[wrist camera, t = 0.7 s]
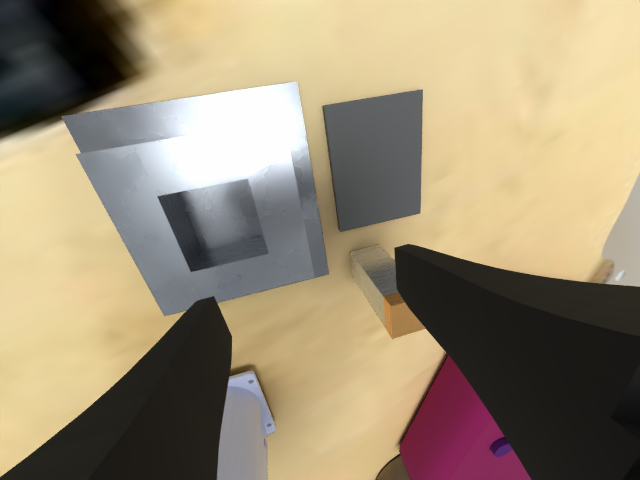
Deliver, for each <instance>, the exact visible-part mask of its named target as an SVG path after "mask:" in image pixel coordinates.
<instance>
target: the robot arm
mask: <svg viewBox="0 0 640 480" xmlns="http://www.w3.org/2000/svg"><path fill="white" fill-rule="evenodd" d="M395 268H396V288H397V290H398V292H399V294H400V295H401V297H402V298H403V300H404V302H405V303H406V305H407V306H408V308H409V309H410V310H411V311H412V313H413V314H414V315H415V316H416V317H417V319H418V320H419V321H420V322H421V323H422V325H423V326H424V327H425V328H426V329H427V330H428V332H429V333H430V334H431V335H432V336H433V337H434V339H435V340H436V341H437V342H438V343H439V344H440V346H441V347H442V348H443V349H444V350H445V351H446V353H447V354H448V355H449V356H450V358H451V359H452V360H453V361H454V363H455V364H456V365H457V367H458V368H459V369H460V371H461V372H462V374H463V375H464V376H465V378H466V379H467V381H468V382H469V384H470V385H471V386H472V388H473V389H474V391H475V392H476V394H477V395H478V397H479V398H480V400H481V401H482V403H483V404H484V406H485V407H486V409H487V410H488V412H489V413H490V415H491V416H492V418H493V419H494V421H495V422H496V424H497V425H498V427H499V428H500V430H501V432H502V433H503V435H504V436H505V438H506V439H507V441H508V443H509V444H510V446H511V447H512V449H513V450H514V452H515V454H516V455H517V457H518V458H519V460H520V462H521V463H522V465H523V467H524V468H525V470H526V472H527V473H528V475H529V477H530V478H531V480H640V287H634V286H623V285H609V284H598V283H588V282H579V281H571V280H563V279H556V278H548V277H542V276H535V275H530V274H524V273H519V272H514V271H508V270H504V269H499V268H495V267H491V266H487V265H482V264H478V263H474V262H471V261H467V260H463V259H460V258H456V257H453V256H450V255H446V254H443V253H440V252H436V251H433V250H430V249H426V248H423V247H419V246H415V245H410V244H407V245H403V246H399V247H396V248H395ZM231 357H232V336H231V333H230V331H229V329H228V327H227V324H226V322H225V320H224V318H223V315H222V313H221V311H220V308H219V306H218V304H217V302H216V299H215V297H214V296H212V297H208V298H204V299H201V300H197V301H196V302H195V303H194V304H193V305H192V306H191V307H190V308H189V309H188V310H187V311H186V312H185V313H184V314H183V315H182V316H181V317H180V319H179V320H178V321H177V322H176V323H175V324H174V325H173V326H172V327H171V328H170V329H169V330H168V332H167V333H166V334H165V335H164V336H163V337H162V338H161V339H160V340H159V341H158V342H157V343H156V344H155V345H154V346H153V347H152V348H151V349H150V350H149V351H148V352H147V353H146V354H145V355H144V356H143V357H142V358H141V359H140V360H139V361H138V362H137V363H136V364H135V365H134V366H133V367H132V368H131V369H130V370H129V371H128V372H127V373H126V374H125V375H124V376H123V377H122V378H121V379H120V380H119V381H118V382H117V383H116V384H115V385H114V386H112V387H111V388H110V389H109V390H108V391H107V392H106V393H105V394H103V395H102V396H101V397H100V398H99V399H98V400H97V401H95V402H94V403H93V404H92V405H91V406H90V407H89V408H87V409H86V410H85V411H84V412H83V413H82V414H80V415H79V416H78V417H77V418H75V419H74V420H73V421H72V422H70V423H69V424H68V425H67V426H65V427H64V428H63V429H62V430H60V431H59V432H58V433H57V434H55V435H54V436H53V437H52V438H51V439H49V440H48V441H47V442H46V443H44V444H43V445H42V446H41V447H39V448H38V449H37V450H36V451H34V452H33V453H32V454H30V455H29V456H28V457H27V458H25V459H24V460H23V461H21V462H20V463H19V464H17V465H16V466H15V467H13V468H12V469H11V470H9V471H8V472H7V473H5V474H4V475H3V476H1V477H0V480H268V468H267V434H270V433H273V432H275V430H276V425H275V423H274V420H273V418H272V415H271V413H270V410H269V407H268V405H267V402H266V400H265V397H264V395H263V392H262V390H261V387H260V385H259V382H258V380H257V377H256V375H255V373H254V372H253V371H247V372H244V373H240V374H237V375H233V376H230V377H229V375H230V368H231Z"/></svg>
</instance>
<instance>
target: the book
mask: <svg viewBox="0 0 640 480" xmlns="http://www.w3.org/2000/svg"><path fill="white" fill-rule="evenodd" d="M399 452H400V455H401V458H402V461H403V464H404V466H405V468H406V471H407V473H408V475H409V478H410V480H531V478H530V477H529V475H528V473H527V472H526V470H525V468H524V467H523V465H522V463H521V462H520V460H519V458H518V457H517V455H516V454H515V452H514V450H513V449H512V447H511V446H510V444H509V443H508V441H507V439H506V438H505V436H504V435H503V433H502V432H501V430H500V428H499V427H498V425H497V424H496V422H495V421H494V419H493V418H492V416H491V415H490V413H489V412H488V410H487V409H486V407H485V406H484V404H483V403H482V401H481V400H480V398H479V397H478V395H477V394H476V392H475V391H474V389H473V388H472V386H471V385H470V384H469V382H468V381H467V379H466V378H465V376H464V375H463V374H462V372H461V371H460V369H459V368H458V367H457V365H456V364H455V363H454V361H453V360H452V359H451V358H450V356H449V355H448V356H447V358H446V360H445V362H444V364H443V366H442V368H441V370H440V371H439V373H438V375H437V377H436V379H435V381H434V383H433V384H432V386H431V388H430V390H429V392H428V394H427V396H426V398H425V399H424V401H423V403H422V405H421V407H420V409H419V411H418V412H417V414H416V416H415V418H414V420H413V422H412V424H411V425H410V427H409V429H408V431H407V433H406V435H405V437H404V439H403V440H402V442H401V444H400V450H399Z"/></svg>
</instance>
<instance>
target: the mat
mask: <svg viewBox="0 0 640 480" xmlns="http://www.w3.org/2000/svg"><path fill="white" fill-rule="evenodd" d="M422 102H423V90H417V91H410V92H404V93H398V94H392V95H386V96H380V97H374V98H367V99H361V100H355V101H349V102H343V103H337V104H331V105H325V106H323V113H324V120H325V128H326V135H327V143H328V151H329V158H330V166H331V173H332V181H333V188H334V196H335V203H336V211H337V218H338V226H339V231H340V232H342V231H346V230H350V229H355V228H359V227H363V226H368V225H372V224H376V223H380V222H385V221H389V220H393V219H398V218H402V217H406V216H411V215H415V214H419V213H420V208H421V155H422Z"/></svg>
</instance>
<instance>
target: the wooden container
mask: <svg viewBox="0 0 640 480" xmlns="http://www.w3.org/2000/svg"><path fill="white" fill-rule="evenodd" d="M377 480H410V478H409V475H408V473H407V471H406V468H405V466H404V464H403V461H402V458H401V455H399V456H398V457H396V458H395V459H394V460H392V461H391V462H390V463H389V464H388V465H387V466H386V467H385V468H384V469H383V470H382V471H381V473H380V474H379V476H378V477H377Z"/></svg>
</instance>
